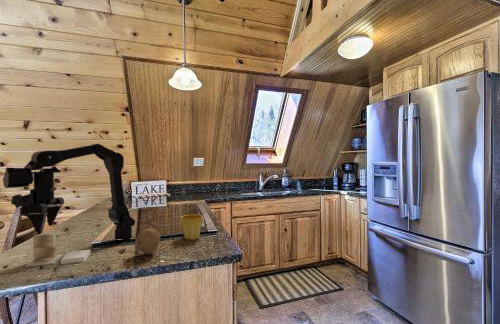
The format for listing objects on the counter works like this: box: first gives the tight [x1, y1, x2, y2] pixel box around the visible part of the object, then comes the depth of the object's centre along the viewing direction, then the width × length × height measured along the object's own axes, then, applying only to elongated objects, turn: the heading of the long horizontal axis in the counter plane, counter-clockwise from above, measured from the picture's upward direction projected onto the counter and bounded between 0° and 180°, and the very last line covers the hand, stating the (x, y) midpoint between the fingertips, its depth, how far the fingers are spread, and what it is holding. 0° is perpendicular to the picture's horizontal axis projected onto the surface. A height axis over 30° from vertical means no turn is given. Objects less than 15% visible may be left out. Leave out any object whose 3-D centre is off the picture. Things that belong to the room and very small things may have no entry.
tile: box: [60, 249, 92, 265], centre depth 93 cm, size 7×2×8 cm
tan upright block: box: [32, 232, 57, 263], centre depth 91 cm, size 6×5×9 cm
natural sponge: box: [134, 228, 161, 256], centre depth 97 cm, size 9×9×10 cm
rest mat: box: [25, 253, 64, 268], centre depth 91 cm, size 8×8×1 cm
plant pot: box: [180, 214, 204, 240], centre depth 117 cm, size 10×10×10 cm
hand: (44, 228), depth 91 cm, fingers open, 9 cm apart
